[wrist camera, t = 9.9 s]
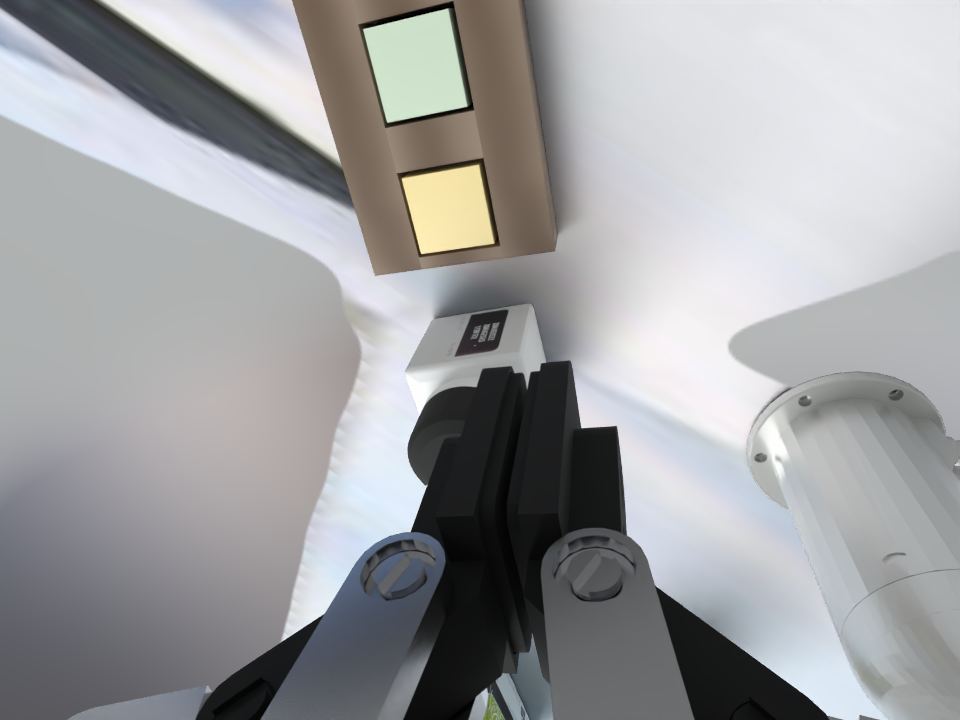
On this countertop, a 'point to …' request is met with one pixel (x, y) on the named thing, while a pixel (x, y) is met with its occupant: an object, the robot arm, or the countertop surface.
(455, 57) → the sage key
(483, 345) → the container
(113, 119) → the countertop surface
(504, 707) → the tea box
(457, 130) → the key panel
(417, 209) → the ochre key
